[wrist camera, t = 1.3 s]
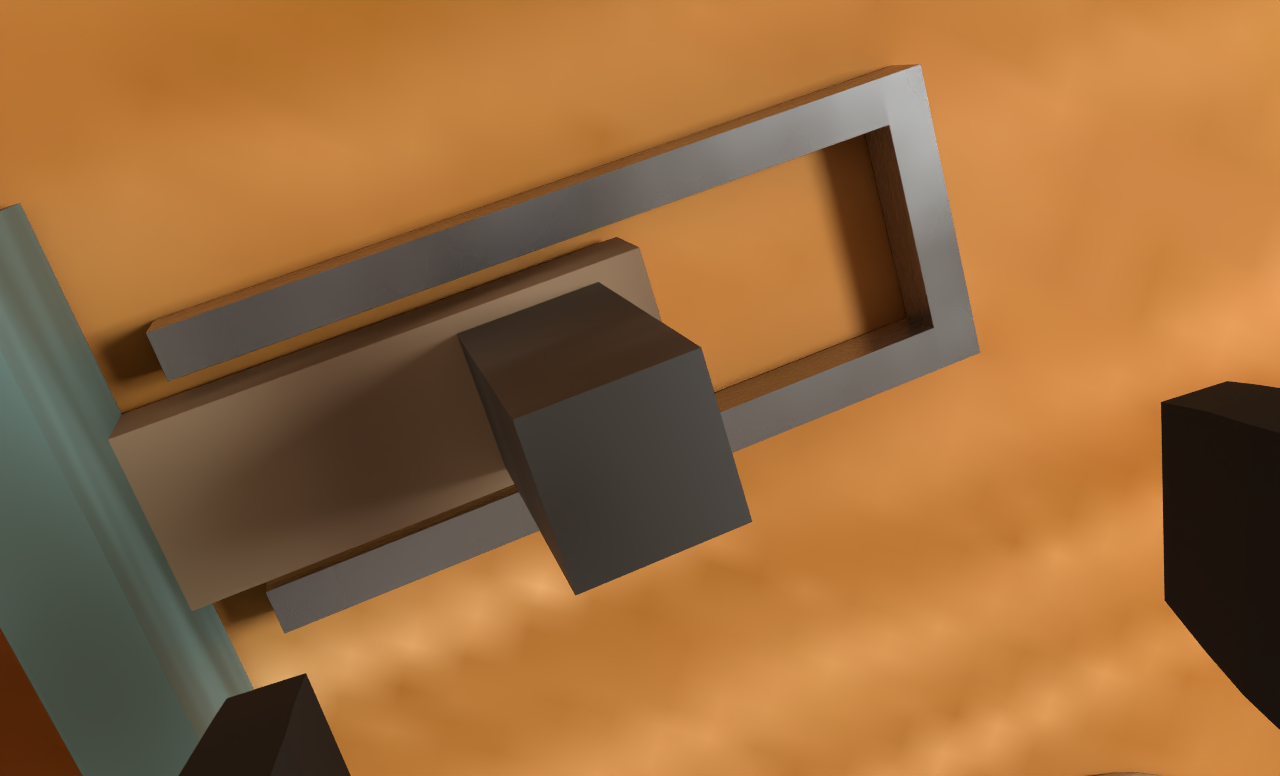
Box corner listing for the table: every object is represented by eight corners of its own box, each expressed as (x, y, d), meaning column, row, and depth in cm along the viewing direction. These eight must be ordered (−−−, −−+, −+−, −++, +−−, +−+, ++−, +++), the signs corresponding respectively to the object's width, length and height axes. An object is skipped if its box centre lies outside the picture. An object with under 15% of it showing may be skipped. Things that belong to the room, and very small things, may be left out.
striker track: (892, 66, 20) (920, 64, 20) (951, 341, 22) (980, 352, 21) (154, 320, 18) (146, 332, 17) (285, 608, 20) (284, 633, 19)
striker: (553, 31, 18) (674, 6, 13) (716, 560, 22) (874, 738, 16) (-85, 236, 17) (-297, 317, 11) (196, 779, 20) (152, 1073, 14)
